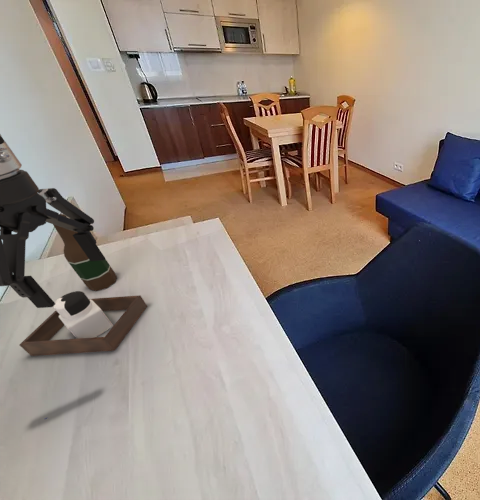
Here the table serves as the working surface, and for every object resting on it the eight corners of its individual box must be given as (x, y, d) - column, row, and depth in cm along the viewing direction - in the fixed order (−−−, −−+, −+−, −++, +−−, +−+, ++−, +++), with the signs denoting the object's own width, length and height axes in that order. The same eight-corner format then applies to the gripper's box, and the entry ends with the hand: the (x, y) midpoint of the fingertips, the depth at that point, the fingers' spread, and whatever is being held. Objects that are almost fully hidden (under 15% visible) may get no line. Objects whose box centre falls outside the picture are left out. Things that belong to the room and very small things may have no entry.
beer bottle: (86, 284, 95) (36, 218, 82) (114, 272, 100) (70, 207, 86) (92, 295, 91) (39, 226, 77) (121, 282, 95) (76, 214, 81)
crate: (33, 358, 73) (18, 344, 70) (76, 313, 85) (66, 300, 82) (116, 352, 72) (105, 339, 69) (148, 308, 84) (140, 295, 81)
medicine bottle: (105, 317, 83) (79, 284, 76) (115, 328, 79) (89, 294, 72) (74, 334, 78) (44, 301, 71) (84, 347, 74) (53, 313, 67)
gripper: (-76, 212, 36) (40, 330, 48) (75, 149, 57) (130, 243, 69) (-136, 216, 36) (-5, 333, 48) (36, 153, 57) (98, 246, 69)
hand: (74, 280), depth 59 cm, fingers open, 13 cm apart
